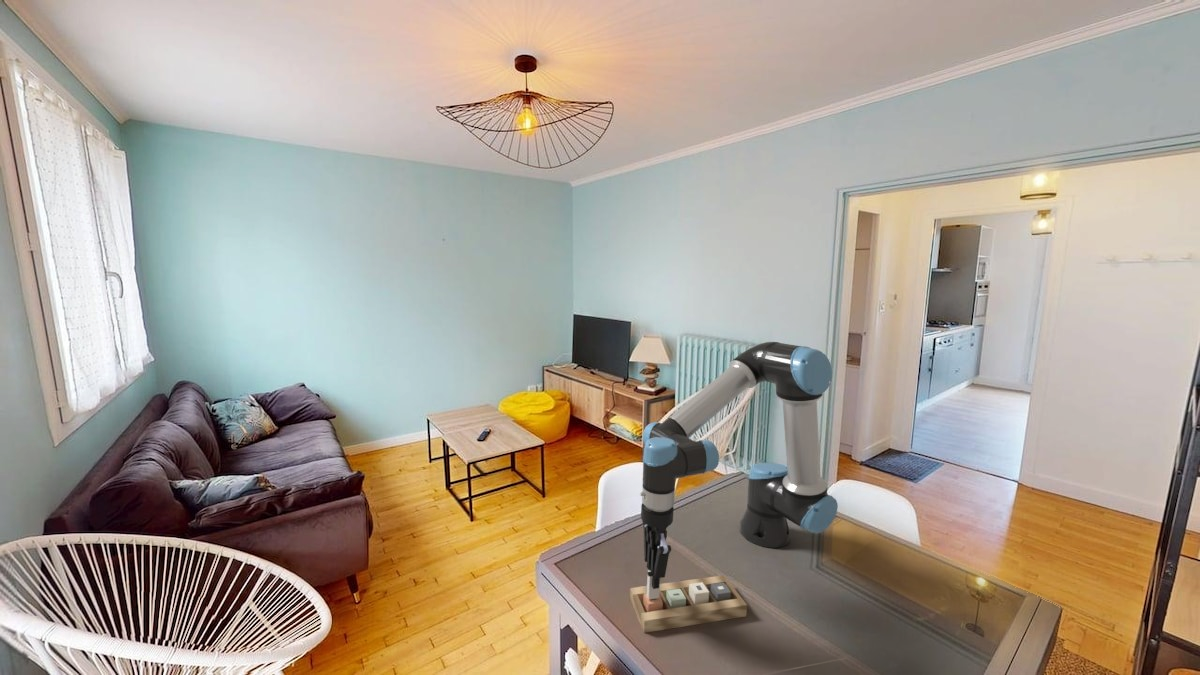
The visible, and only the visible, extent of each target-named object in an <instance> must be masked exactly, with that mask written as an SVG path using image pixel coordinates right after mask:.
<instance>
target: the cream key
mask: <svg viewBox="0 0 1200 675" xmlns="http://www.w3.org/2000/svg"><path fill="white" fill-rule="evenodd" d="M689 598H690V599H691V601H692V603H693V604H694V605H698V604H705V603H708V601H709V591H708V590H707V588H706V587H705V585H704V584H703V582H700V583H693V584H689Z"/></svg>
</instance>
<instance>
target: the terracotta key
mask: <svg viewBox="0 0 1200 675" xmlns="http://www.w3.org/2000/svg"><path fill="white" fill-rule="evenodd" d="M642 606H643V608H644V611H645V612H652V611H659V610H662V608H663V602H662V600H661V598H660V596H659V598H657V599H650V600H649V599H648V597H647V593H645V594H644V595H643V604H642Z"/></svg>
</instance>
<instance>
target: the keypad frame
mask: <svg viewBox="0 0 1200 675" xmlns="http://www.w3.org/2000/svg"><path fill="white" fill-rule="evenodd" d="M700 582H703V584H704V585H705V587H706V588H707V590H708V591H709V601H708V603H705V604H698V605H694V604H693V602H692V601H691V599H690V597H689V584H693V583H700ZM723 582H724V583H725V585H726V586H727V587H728V589H729V590H730V591H731V600H724V601H718V602H717V601H716V600H715V598H714V597H713V595H712V594H711V592H710V590H711V584H716V583H723ZM629 589H630V590H629V601H630V603H631V606H632V607H633V609H634V612H635V615H636V616H637V619H638V622H639V624H640V626H641V630H642V631H643V633H644V634H645V633H651V632H657V631H663V630H668V629H675V628H682V627H688V626H694V625H699V624H707V623H712V622H721V621H724V620H731V619H735V618H736V619H737V618H743V617H747V608H748V604H747V603H746V602H745V600H744V599H743V598H742V596H741V595H740V594H739V592H738V591H737V590H736V589H735V588H734V586H733V585H732V584H731V582H730V580H728V578H727V577H726V576H725V575H724V574H723V575H722V574H721V575H716V576H715V575H714V576H709V577H703V578H702V577H701V578H694V579H687V580H680V581H678V580H677V581H674V582H673V581H672V582H664V583H660V594H659V596H660V598H661V600H662V602H663V608H662V610H659V611H652V612H646V611H645V609H644V607H643V595H644V594H645V593H647V585H643V586H642V585H641V586H637V587H630V588H629ZM674 589H681V591H682V593H683V594H684V596H685V598H686V606H685V607H678V608H672V609H670V607H669V605H668V603H667V601H666V592H667V590H674Z"/></svg>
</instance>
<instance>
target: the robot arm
mask: <svg viewBox="0 0 1200 675" xmlns="http://www.w3.org/2000/svg"><path fill="white" fill-rule="evenodd" d="M832 378H833V368H832V363H831V361H830V359H829V358H828V356H827V355H826V354H825V353H823V351H821V350H818V349H815V348H811V347H809V346H806V345H805V346H802V345H796V344H789V343H784V342H783V343H782V342H778V341H767V342H762V343H759V344H756V345H754V346H752V347H750V348H748V349H746V350H745V351H743V352H741V353H739V354H738V355H737V356H736V357H735V358H733V359H732V360H731V361H730V362H729V363H728V368H727V369H725V371H723V372H722V373H721V374H720V375H718V376H717V377H716V378H715V379H714V380H712V381H711V382H710V383H709V384H708V385H706V386H705V387H704V388H702V390H700V391H698V393H697V394H695V395H694V396H693V397H692V398H691V399H690V400H688V401H687V402H686V403H685V404H684V405H682V406H681V407H679V409H677V411H675V412H674V413H672V414H671V415H670V416H669V417H668V418H667V419H665V420H664V421H662V423H661V422H658V421H652V422H650V423H649V424H647V425H645V428H644V430H643V432H642V441H643V444H644V448H643V456H642V461H643V466H642V467H643V468H642V491H641V492H640V494H639V496H640V497H641V505H640V506H641V507H640V509H641V510H640V519H641V522H642V527H643V528H642V529H643V547H644V548H643V550H644V552H643V554H644V562H646V568H647V576H646V577H647V578H646V579H647V582H646V586H647V597H648V599H649V600H650V599H657V598H659V594H660V584H661V579H662V578H665V577H666V572H667V568H668V561H669V556H670V553H671V551H672V546H671V545H668V544H667V537H668V532H667V528H668V527H669V526H670V525H672V524H673V522H674V511H675V510H674V506H675V505H674V504H675V498H676V497H675V494H676V493H675V491H676V479H681V478H686V477H690V476H697V475H701V474H703V475H704V474H705V473H709V472H712V471H714V470H715V469H717V468H718V466H719V463H720V455H719V454H720V453H719V450H718V448H717V446H716V445H715V444H714V442H712V441H711V440H709V439H708V440H707V439H705V440H702V439H700V440H697V441H696V440H693V439H691V437H692V436H693V435H694V434H696V433H697V431H699V430H700V429H702V427H704V426H705V425H706V424H707V423H708V422H709V421H710V420H712V419H713V418H714V417H715V416H716V415H717V414H718V413H719V412H721V411H722V410H723V409H724V408H726V407H727V406H728V405H729V404H730V403H732V401H734V400H735V399H736V398H737V397H738V396H740V394H741V393H743V392H744V391H745V390H746V389H752V388H754V387H756V386H757V385H758V384H759V383H763V382H767V383H771V384H774V385H775V393H776V394H775V395H776V397H777V398H778V399H779V400H781V402H782V410H783V425H784V426H783V427H784V437H785V438H784V441H785V442H784V443H785V453H786V455H785V457H786V465H784V464H780V463H775V462H759V463H755V464H753V465H752V466H751V467H750V471H749V476H748V487H747V488H748V489H747V490H748V491H747V505H746V510H745V512H744V513H743V515H742V516H743V517H742V518H741V520H740V522H739V523H740V524H739V532H740V534H741V536H742V537H743V538H745V539H746V540H747V541H749V542H751V543H753V544H755V545H757V546H760V547H765V548H769V549H770V548H771V549H774V548H775V549H776V548H783V547H786V546H787V545H788V544H789V543H790V539H791V532H790V528H789V523H788V520H789V521H791V523H793V524H795V525H797V527H800V528H801V529H802V530H805V531H808V532H810V533H812V534H820V533H823V532H824V531H826V530H827V529H828V528H829V527H831V524H832V523H833V521H834V520H835V518H836V515H837V513H838V505H839V504H838V500H837V499H836V498H835V497H834V496H833V495H830V494H828V485H827V481H826V480H825V478H823V477H821V461H820V457H821V456H820V440H819V423H818V418H819V416H818V401H819V400H820V399H822V397H823V396H824V395H823V394H824V393H825V392H826V391H827V390H828V389H829V387H830V385H831V384H830V382H831V381H832Z"/></svg>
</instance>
